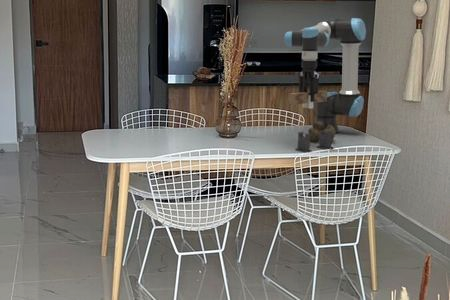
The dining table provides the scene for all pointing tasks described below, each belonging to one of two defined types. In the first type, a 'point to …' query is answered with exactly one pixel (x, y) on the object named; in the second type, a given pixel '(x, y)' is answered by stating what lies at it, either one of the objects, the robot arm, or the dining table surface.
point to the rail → (307, 97)
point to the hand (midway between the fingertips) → (307, 107)
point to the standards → (305, 141)
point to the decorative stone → (316, 131)
